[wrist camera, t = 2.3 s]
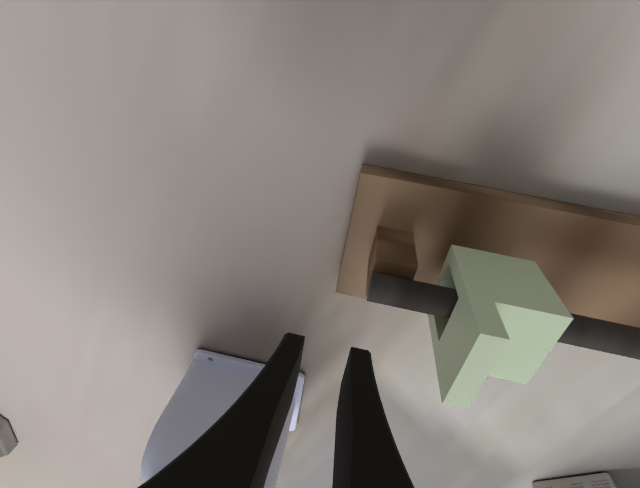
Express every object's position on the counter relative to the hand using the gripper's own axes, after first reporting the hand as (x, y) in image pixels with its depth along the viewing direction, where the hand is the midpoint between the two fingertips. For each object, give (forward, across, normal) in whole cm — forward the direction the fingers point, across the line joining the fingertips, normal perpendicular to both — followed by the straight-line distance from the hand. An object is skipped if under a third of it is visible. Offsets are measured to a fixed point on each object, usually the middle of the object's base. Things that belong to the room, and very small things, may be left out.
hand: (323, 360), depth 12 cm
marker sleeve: (+7, -7, 0) cm, 10 cm away
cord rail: (+10, -11, 0) cm, 15 cm away
